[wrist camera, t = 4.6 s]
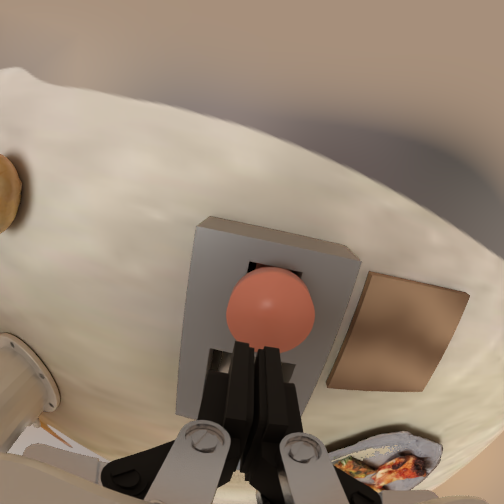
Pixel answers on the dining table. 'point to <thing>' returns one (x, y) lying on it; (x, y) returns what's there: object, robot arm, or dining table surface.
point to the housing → (224, 280)
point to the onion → (8, 193)
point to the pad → (396, 335)
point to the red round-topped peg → (270, 309)
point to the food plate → (391, 461)
